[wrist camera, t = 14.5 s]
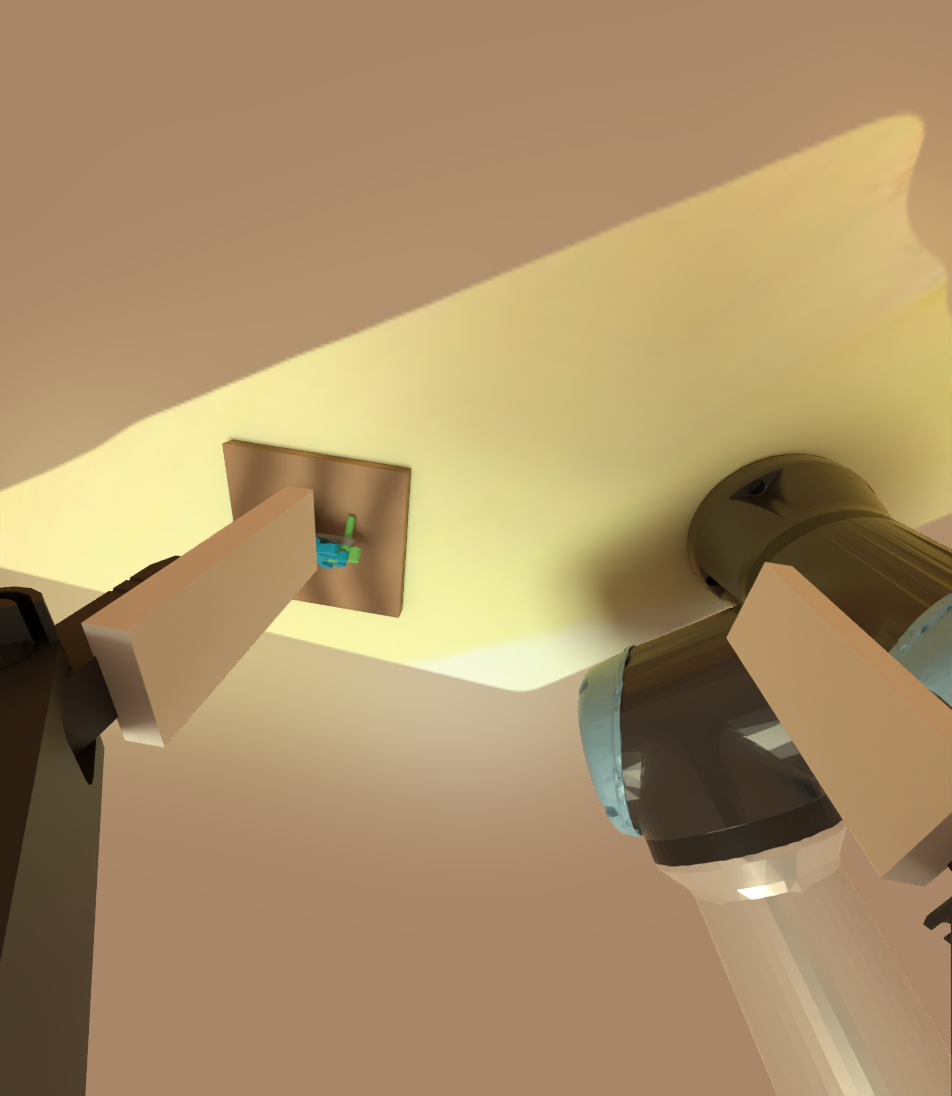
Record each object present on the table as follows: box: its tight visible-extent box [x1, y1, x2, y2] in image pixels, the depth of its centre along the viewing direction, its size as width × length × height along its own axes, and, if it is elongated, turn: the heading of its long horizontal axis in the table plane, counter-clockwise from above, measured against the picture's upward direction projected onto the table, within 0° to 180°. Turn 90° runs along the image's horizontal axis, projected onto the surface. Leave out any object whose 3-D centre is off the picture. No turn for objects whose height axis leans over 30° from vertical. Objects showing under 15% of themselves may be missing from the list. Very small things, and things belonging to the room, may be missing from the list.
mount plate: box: [222, 440, 411, 618], centre depth 46 cm, size 18×17×2 cm
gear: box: [315, 516, 361, 569], centre depth 42 cm, size 11×6×10 cm
